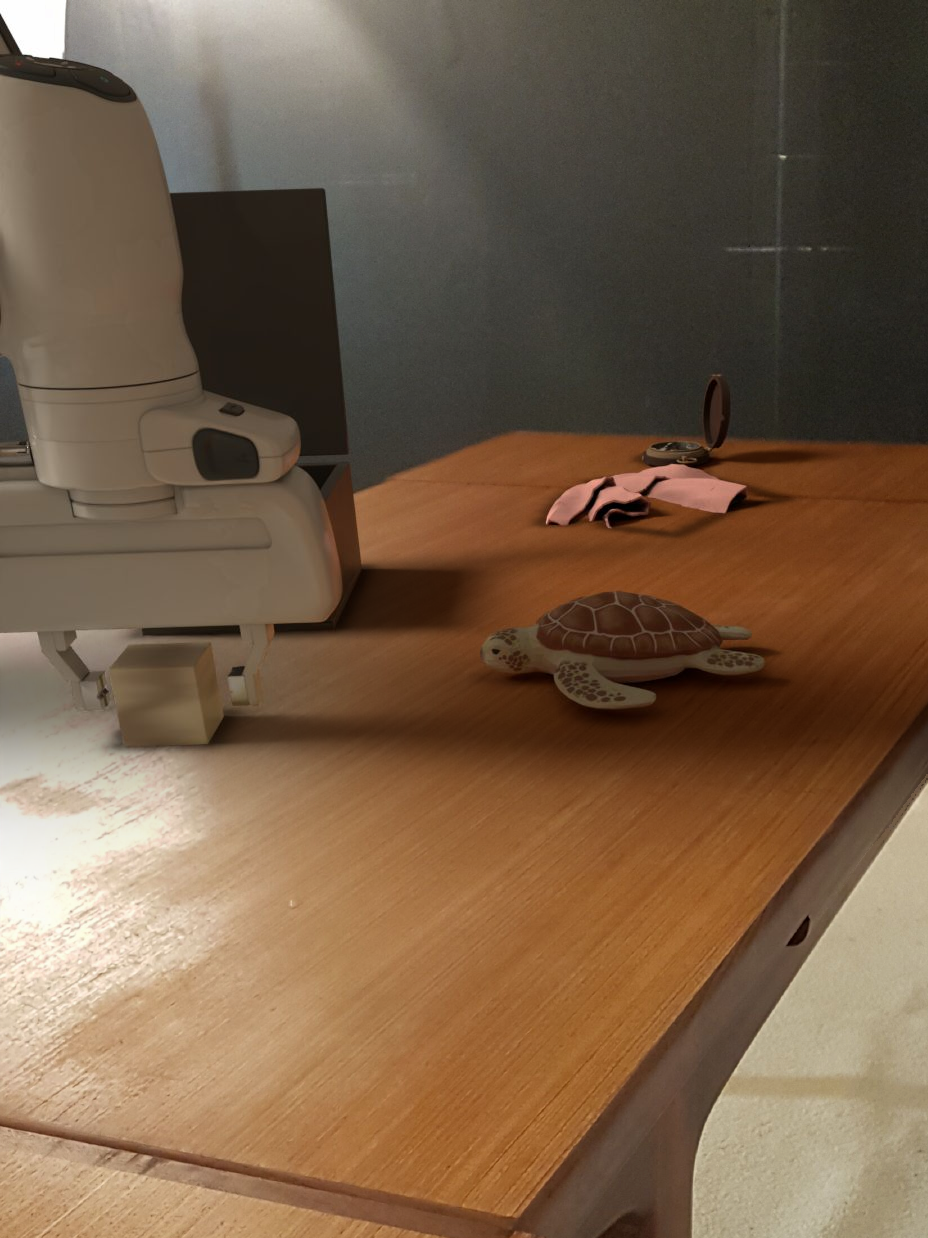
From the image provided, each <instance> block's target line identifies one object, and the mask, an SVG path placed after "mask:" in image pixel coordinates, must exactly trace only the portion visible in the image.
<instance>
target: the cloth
mask: <svg viewBox="0 0 928 1238" xmlns="http://www.w3.org/2000/svg"><path fill="white" fill-rule="evenodd" d="M747 487H748V486H747V485H745V484H739V483H735V482H731V481H727V480H721V479H719V478H718V477H716V476H715V475H711V474H709V473H707V472H705V471H703V470H702V469H700V468H694V467H691V466H689V467H687V466H686V465H678V464H670V465H668V466H661V467H657V466H654V467H649V468H645V469H643V470H641V471H639V472H626V473H619V474H615V475H612V476H604V477H602V478H596V479H591V480H590V481H589V482H587V483H580V484H577V485H575V486H572V487H570V488H569V489H567V490H565V491H564V492H563V494H561V496H560V497H558V498H557V499H556V501H554V503H553V505H552V506H551V508H550V510H549V512H548V513H547V516H546V521H545V525H547V526H548V525H549V524H551V523H556V524H558V525H559V526H568V525H569V523H570V521H571V520H572V519H574V518H575V517H576V516H577V515H579V514H580V513H582V512H583V511H584V510H585V509H586V507H587V506H589V508H588V509H587V510H586V513H587V516H588V519H589V520H588V522H594V520H595V518H596V516H597V513H598V512H599V511H600V512H601V518H602V520H603V522H604V523H605V526H606V527H607V528H608V529H613V528H612V525H611V520H610V518H609V517H610V516H612V515H625V516H630V517H637V516H647V515H649V512H650V509H651V505H652V501H651V500H649V499H648V498H651V499H656V500H660V501H663V502H667V503H670V504H674V505H675V504H676V505H681V507H683V508H684V507H685V508H691V509H697V510H699V511H704V512H709V513H717V514H718V513H720V514H726V513H727V511H728V509H729V507H730V506H732V505H733V504H736V503H741V502H743V501H744V500H746V499H747V498H748V488H747ZM644 496H646V497H644Z"/></svg>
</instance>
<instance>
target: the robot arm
mask: <svg viewBox="0 0 928 1238" xmlns="http://www.w3.org/2000/svg"><path fill="white" fill-rule="evenodd" d="M157 141H158V140H157V138H156V135H155V132H154V128H153V127H152V124H151V121H150V119H149V116H148V113H147V111H146V109H145V108H144V104H143V103H142V101H141V99H140V98H139V96H138V94H137V93H136V92H135V90H134V89H133V87H132V86H130V85H129V84H128V83H127V82H125V81H124V80H123V79H122V78H120V77H118V75H115V74H114V73H113V72H111V71H109V70H107V69H105V68H102V67H98V66H95V65H92V64H88V63H84V62H79V61H76V60H71V59H64V58H58V57H42V56H41V57H39V56H34V55H32V54H26V53H25V54H23V53H22V51H21V49H20V47H19V45H18V43H17V41H16V39H15V38H14V36H13V34H12V32H11V30H10V28H9V26H8V24H7V23H6V21H5V18H4V17H3V15H2V14H1V12H0V358H7V360H8V361H9V362H10V364H11V366H12V368H13V370H14V371H13V372H14V374H15V381H16V386H17V390H18V394H19V400H20V403H21V409H22V414H23V418H24V422H25V427H26V432H27V436H28V440H19V441H1V442H0V634H15V633H16V634H17V633H19V634H21V633H37V637H38V642H39V646H40V651H41V653H42V655H44V657H45V658H46V659H47V660H48V661H49V662H50V663H51V665H52V666H53V667H54V668H55V670H57V672H58V673H59V674H60V675H61V676H62V677H63V679H64V680H65V681H66V682H67V683H68V682H69V685H70V690H71V694H72V697H73V702H74V706H75V709H76V711H77V712H83V713H84V712H86V713H87V712H98V711H100V712H101V711H106V710H107V708H108V707H109V706H110V704H111V697H110V690H108V688H107V687H106V686H107V684H108V680H107V676H106V672H105V670H104V671H103V670H101V671H99V670H98V671H97V670H93V671H92V670H90V669H89V667H88V666H87V664H85V662H84V661H83V659H81V657H80V655H79V654H78V653H77V652H76V650H75V649H74V648H73V646H72V644H73V643H74V642H75V640H76V639H77V638H78V635H77V631H102V630H103V631H105V630H106V631H107V630H109V631H110V630H135V629H142V628H167V627H196V626H225V625H239V626H240V632H239V633H240V637H241V642H242V644H243V645H246V646H247V645H252V644H253V646H252V647H251V651H250V653H249V656H248V657H247V660H246V663H245V665H240V666H232V667H231V669H230V672H228V674H227V677H226V679H227V685H228V689H229V691H231V695H230V702H231V705H232V706H233V707H250V706H251V707H252V706H256V707H257V706H261V704H262V702H263V699H264V689H263V681H262V675H261V667H262V665H263V662H264V660H265V658H266V655H267V652H268V650H269V648H270V645H271V643H272V640H273V638H274V636H275V634H276V633H275V632H276V631H274V625H273V624H282V623H313V622H322V621H325V620H326V619H327V618H328V617H329V616H330V615H331V613H332V612H333V611H334V609H335V608H336V606H337V605H338V603H339V601H340V599H341V595H342V577H341V570H340V564H339V558H338V553H337V548H336V543H335V539H334V535H333V531H332V527H331V523H330V519H329V516H328V512H327V509H326V505H325V502H324V499H323V497H322V494H321V492H320V490H319V488H318V486H317V484H316V483H315V481H314V480H313V479H312V478H311V476H310V475H309V474H308V473H307V472H305V471H304V470H303V469H301V468H299V467H298V466H295V465H294V464H295V463H297V461H298V459H299V457H300V456H299V455H300V448H301V439H300V431H299V427H298V425H297V423H296V421H295V420H294V419H293V418H291V417H289V416H287V415H285V414H282V413H279V412H275V411H272V410H268V409H265V408H261V407H258V406H254V405H251V404H247V403H244V402H240V401H237V400H234V399H230V398H227V397H224V396H221V395H217V394H214V393H211V392H208V391H205V390H202V384H201V377H200V370H199V365H198V361H197V357H196V354H195V352H194V349H193V347H192V345H191V343H190V340H189V338H188V336H187V333H186V330H185V326H184V322H183V316H182V303H181V299H182V287H183V264H182V258H181V252H180V246H179V240H178V234H177V229H176V223H175V218H174V212H173V207H172V202H171V197H170V193H171V192H170V188H169V185H168V179H167V175H166V171H165V167H164V163H163V159H162V155H161V152H160V148H159V144H158V142H157Z"/></svg>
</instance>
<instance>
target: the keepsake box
mask: <svg viewBox="0 0 928 1238" xmlns="http://www.w3.org/2000/svg"><path fill="white" fill-rule="evenodd" d="M294 465H295V466H298V467H299V468H301V469H303V470H304V471H305V472H307V473H308V474H309V475H310V476H311V478H312V479H313V480H314V481H315V483H316V484H317V486H318V488H319V490H320V492H321V494H322V497H323V499H324V502H325V505H326V509H327V512H328V516H329V519H330V523H331V527H332V531H333V535H334V539H335V543H336V548H337V553H338V558H339V564H340V570H341V577H342V595H341V599H340V601H339V603H338V605H337V606H336V608H335V609H334V611H333V612H332V613H331V615H330V616H329V617H328V618H327V619H326V620H325V621H322V622H313V623H282V624H273V625H274V632H288V631H289V632H290V631H293V632H294V631H319V630H320V631H321V630H322V631H323V630H335V628H336V627H337V623H338V621H339V619H340V617H341V615H342V613H343V610H344V609H345V607H346V604H347V602H348V600H349V598H350V596H351V594H352V592H353V589H354V587H355V585H356V583H357V580H358V579H359V577H360V574H361V572H362V570H363V567H362V566H363V565H362V558H361V557H362V556H361V547H360V540H359V539H360V538H359V531H358V522H357V514H356V506H355V495H354V487H353V478H352V470H351V463H350V461H339V462H338V461H329V462H327V461H326V462H301V463H299V462H298V463H297V462H296V463H295V464H294ZM140 629H141V635H142V636H163V635H164V636H168V635H169V636H170V635H172V636H173V635H194V634H195V635H197V634H198V635H199V634H201V635H202V634H226V633H227V634H228V633H231V634H232V633H241V632H240V626H239V625H225V626H196V627H167V628H140Z"/></svg>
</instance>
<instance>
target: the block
mask: <svg viewBox="0 0 928 1238" xmlns="http://www.w3.org/2000/svg"><path fill="white" fill-rule="evenodd" d="M212 645H213V644H212V642H211V641H199V642H198V641H196V642H194V641H193V642H168V643H167V642H166V643H140V644H139V643H137V644H136V643H135V644H133V643H132V644H128V645H127V646H126V648H125V649H124V650H123V651H122V652H121V654H120V655H119V656H118V657H117V659H116V660H115V661H114V662H113V663H112V665H111V666H110V667H109V668H108V675H109V680H110V685H111V690H112V694H113V699H114V705H115V709H116V714H117V719H118V723H119V728H120V734H121V739H122V744H123V747H125V748H129V747H158V746H160V747H161V746H162V747H163V746H187V745H188V746H189V745H191V746H192V745H193V746H194V745H209V743H210V741H211V739H212V738H213V737H214V734H215V732H216V731H217V729H218V727H219V725H220V724H221V723H222V720H223V718H225V717H224V716H225V715H224V710H223V705H222V698H221V693H220V688H219V680H218V675H217V670H216V668H217V667H216V664H215V663H216V662H215V658H214V652H213V651H214V650H213V646H212Z"/></svg>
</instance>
